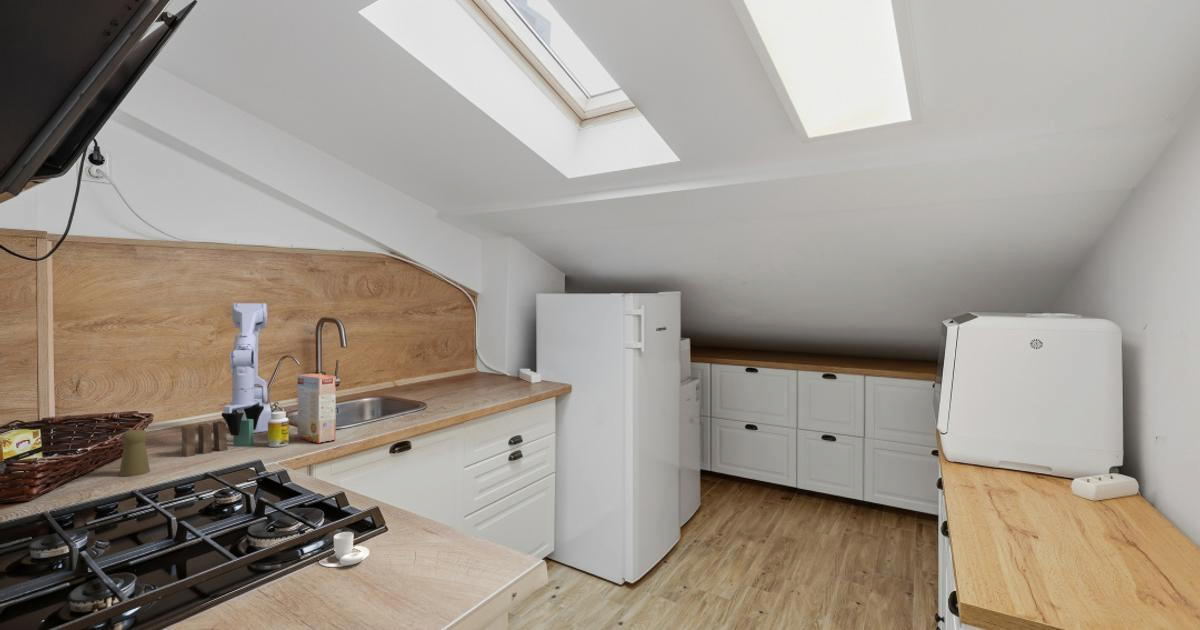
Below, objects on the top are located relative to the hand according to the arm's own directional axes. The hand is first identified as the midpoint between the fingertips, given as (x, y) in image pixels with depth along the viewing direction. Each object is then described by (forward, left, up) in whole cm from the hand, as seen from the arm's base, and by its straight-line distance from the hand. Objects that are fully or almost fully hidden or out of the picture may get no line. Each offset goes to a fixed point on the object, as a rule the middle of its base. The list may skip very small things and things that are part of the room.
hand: (243, 432), depth 170 cm
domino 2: (+10, 0, -4) cm, 11 cm away
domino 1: (+14, 0, -4) cm, 15 cm away
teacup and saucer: (+18, +100, -5) cm, 102 cm away
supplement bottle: (-7, +8, -4) cm, 11 cm away
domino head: (0, 0, -4) cm, 4 cm away
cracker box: (-18, +9, -4) cm, 21 cm away
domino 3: (+6, 0, -4) cm, 7 cm away
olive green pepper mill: (+28, +11, -4) cm, 30 cm away
